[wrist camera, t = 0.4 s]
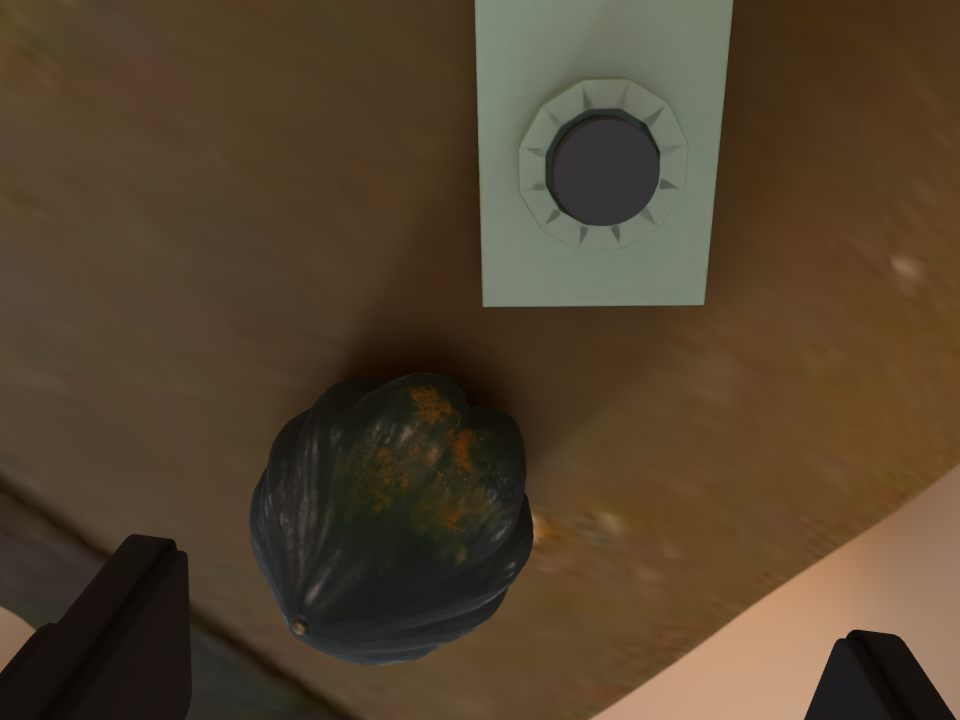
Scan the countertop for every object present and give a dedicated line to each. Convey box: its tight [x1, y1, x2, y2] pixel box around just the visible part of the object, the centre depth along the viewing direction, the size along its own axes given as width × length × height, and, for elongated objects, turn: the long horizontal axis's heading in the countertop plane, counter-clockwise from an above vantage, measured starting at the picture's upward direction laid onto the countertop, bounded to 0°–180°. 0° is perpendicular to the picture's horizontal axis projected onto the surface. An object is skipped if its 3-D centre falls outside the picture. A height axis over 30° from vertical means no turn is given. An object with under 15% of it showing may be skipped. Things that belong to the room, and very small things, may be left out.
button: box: [551, 115, 660, 226], centre depth 32 cm, size 4×4×2 cm
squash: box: [250, 372, 534, 665], centre depth 38 cm, size 14×15×15 cm
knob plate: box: [475, 0, 733, 307], centre depth 34 cm, size 14×11×5 cm
